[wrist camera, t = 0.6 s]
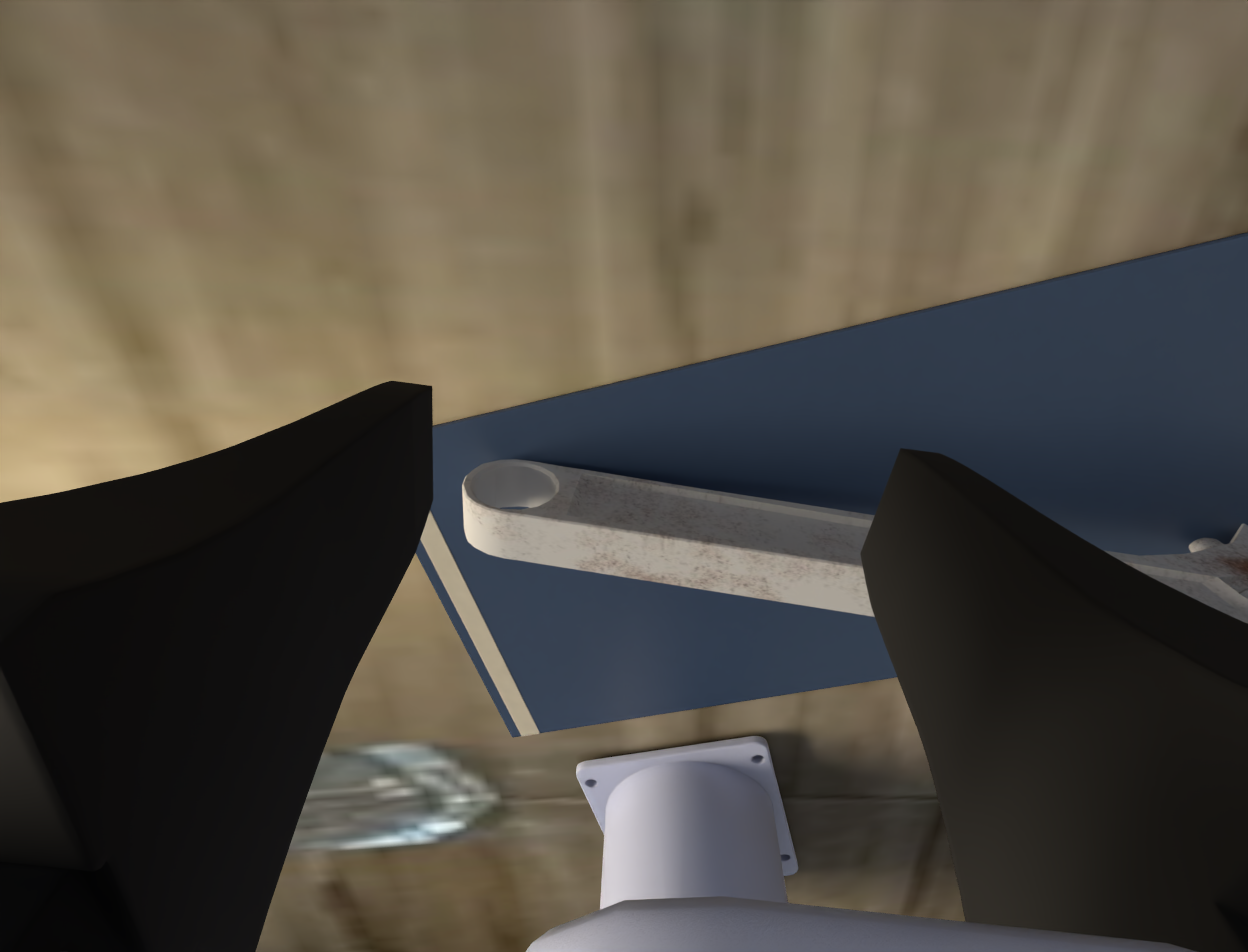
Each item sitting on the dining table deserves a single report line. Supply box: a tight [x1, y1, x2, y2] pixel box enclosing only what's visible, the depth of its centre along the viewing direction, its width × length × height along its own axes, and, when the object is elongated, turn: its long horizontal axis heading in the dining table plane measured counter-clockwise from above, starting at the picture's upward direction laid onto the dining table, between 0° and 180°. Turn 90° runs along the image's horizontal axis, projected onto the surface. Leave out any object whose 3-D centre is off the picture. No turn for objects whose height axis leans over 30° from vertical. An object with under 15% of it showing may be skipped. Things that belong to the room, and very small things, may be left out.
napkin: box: [415, 233, 1248, 737], centre depth 23 cm, size 14×34×1 cm, turn 105°
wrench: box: [462, 459, 1248, 623], centre depth 20 cm, size 8×2×30 cm
